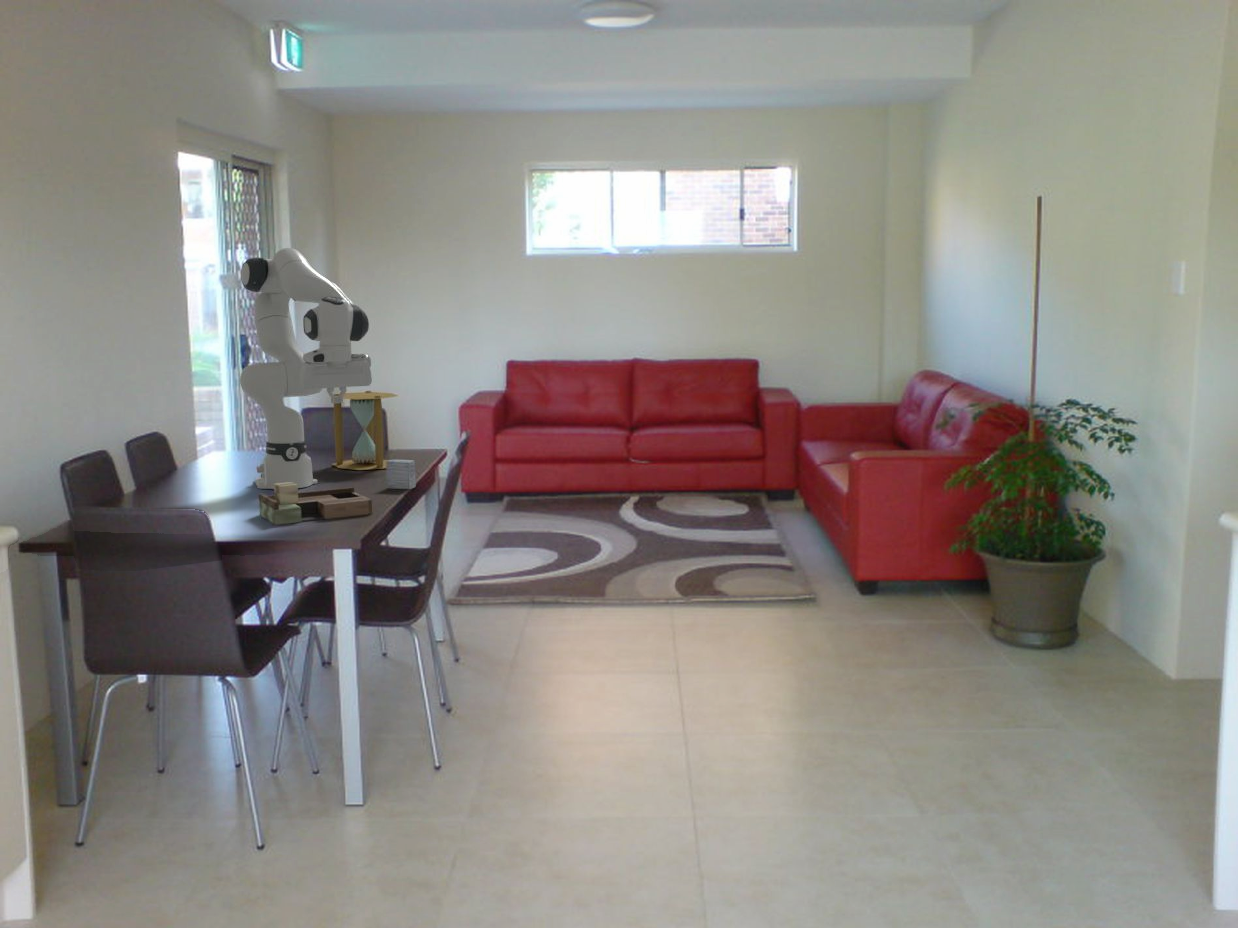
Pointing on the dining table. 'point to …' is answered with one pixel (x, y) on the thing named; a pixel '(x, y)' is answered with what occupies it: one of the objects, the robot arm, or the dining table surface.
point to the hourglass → (365, 449)
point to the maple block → (286, 493)
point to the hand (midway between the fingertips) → (337, 403)
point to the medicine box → (400, 474)
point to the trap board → (315, 506)
